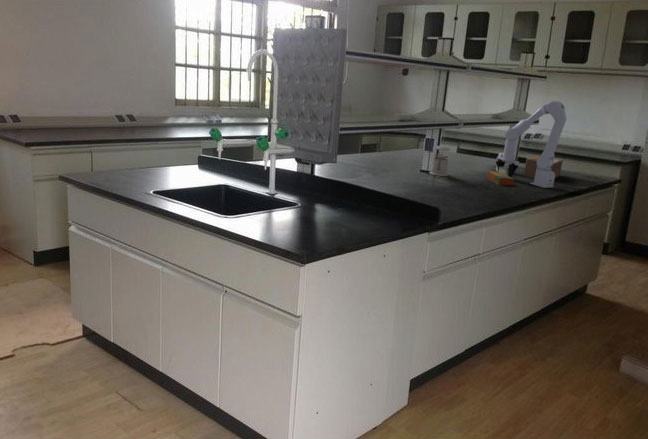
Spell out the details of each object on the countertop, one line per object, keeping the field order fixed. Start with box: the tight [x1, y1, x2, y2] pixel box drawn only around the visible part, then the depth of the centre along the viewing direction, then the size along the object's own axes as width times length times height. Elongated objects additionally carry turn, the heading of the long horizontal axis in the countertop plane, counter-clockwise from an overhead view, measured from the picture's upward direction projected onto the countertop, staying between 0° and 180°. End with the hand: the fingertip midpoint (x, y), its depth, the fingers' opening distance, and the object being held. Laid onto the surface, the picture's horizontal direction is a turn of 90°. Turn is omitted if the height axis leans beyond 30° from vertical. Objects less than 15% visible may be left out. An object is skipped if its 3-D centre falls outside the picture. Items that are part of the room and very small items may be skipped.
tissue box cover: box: [523, 155, 564, 179], centre depth 336 cm, size 26×14×10 cm, turn 147°
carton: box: [485, 171, 515, 187], centre depth 303 cm, size 8×16×4 cm, turn 8°
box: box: [499, 166, 513, 178], centre depth 315 cm, size 5×5×6 cm
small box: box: [495, 152, 511, 172], centre depth 336 cm, size 8×6×10 cm
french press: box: [428, 133, 451, 177], centre depth 304 cm, size 10×12×25 cm
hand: (504, 175), depth 316 cm, fingers open, 7 cm apart
